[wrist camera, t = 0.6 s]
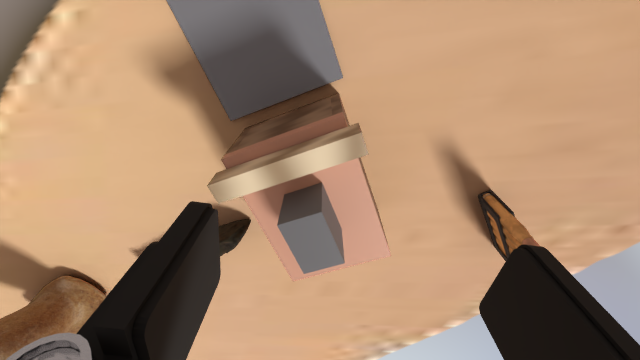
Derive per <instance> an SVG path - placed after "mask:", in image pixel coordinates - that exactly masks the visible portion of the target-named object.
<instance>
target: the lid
mask: <svg viewBox="0 0 640 360" xmlns="http://www.w3.org/2000/svg"><path fill="white" fill-rule="evenodd" d="M345 127H348V126H347V123H346V120H345V117H344V114H343V112H341V113H338V114H335V115H332V116H330V117H327V118H324V119H321V120H319V121H316V122H313V123H310V124H308V125H305V126H302V127H299V128H297V129H294V130H291V131H288V132H286V133H283V134H280V135H277V136H275V137H272V138H269V139H266V140H264V141H261V142H258V143H255V144H253V145H250V146H247V147H244V148H242V149H239V150H236V151H233V152H230V153H228V154H225V155H224V157H223V158H222V159H221V160H222V162H223V164H224V165H225V167H226V169H229V168H232V167H234V166H237V165H240V164H243V163H246V162H249V161H252V160H254V159H257V158H260V157H263V156H266V155H269V154H271V153H274V152H277V151H280V150H283V149H286V148H288V147H291V146H294V145H297V144H300V143H303V142H305V141H308V140H311V139H314V138H317V137H320V136H323V135H325V134H328V133H331V132H334V131H337V130H340V129H342V128H345ZM243 198H244V199H245V201H246V203H247V204H248V206H249V208H250V210H251V211H252V213H253V215H254V216H255V218H256V220H257V221H258V223H259V225H260V227H261V228H262V230H263V232H264V233H265V235H266V237H267V238H268V240H269V242H270V244H271V245H272V247H273V249H274V250H275V252H276V254H277V256H278V257H279V259H280V261H281V262H282V264H283V266H284V267H285V269H286V271H287V273H288V274H289V276H290V278H291V279H292V281H297V280H301V279H304V278H308V277H312V276H316V275H320V274H324V273H327V272H331V271H335V270H339V269H343V268H347V267H351V266H354V265H358V264H362V263H366V262H370V261H374V260H377V259H381V258H385V257H389V256H391V253H390V250H389V247H388V244H387V241H386V238H385V235H384V232H383V229H382V226H381V223H380V220H379V217H378V214H377V211H376V208H375V205H374V203H373V200H372V197H371V194H370V191H369V188H368V185H367V182H366V179H365V176H364V173H363V170H362V167H361V164H360V161H359V158H357V159H354V160H351V161H348V162H345V163H341V164H338V165H335V166H332V167H329V168H326V169H323V170H320V171H317V172H314V173H311V174H308V175H305V176H302V177H299V178H296V179H293V180H290V181H287V182H284V183H281V184H278V185H275V186H272V187H269V188H266V189H263V190H259V191H256V192H253V193H250V194H247V195H244V196H243Z"/></svg>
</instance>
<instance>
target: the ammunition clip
mask: <svg viewBox="0 0 640 360" xmlns="http://www.w3.org/2000/svg"><path fill="white" fill-rule="evenodd" d="M478 198H479V201H480V204H481V207H482V210H483V213H484V216H485V219H486V222H487V225H488V228H489V231H490V234H491V237H492V240H493V243H494V246H495V248H496V250H497V251H498V252H499V253H500V255H501V256H502V257H503V258H504V260H505V261H507V259H508V257H509V256H510V254H511V253H512V251H513V250H514V249H516V248H518V247H519V246H520V245H523V244H526V245H534V246H539V244H538V243H537V242H536V241H535V240H534V239H533V237H532V236H531V235H530V234H529V232H528V231H527V229H526V228H525V227H524V226H523V225H522V224H521V223H520V222H519V221H518V220H517V219H516V218H515V216H514V212H513V211H512V210H511V209H510V208H509V207H508V206H507V205H506V204H505V203H504V202H503V201H502V200H501V199H500V198H499V197H498V196H497V195H496V194H495V193H494V192H493V191H492V190H490V191H487V192H485V193H482V194H480V195H478Z"/></svg>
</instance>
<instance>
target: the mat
mask: <svg viewBox="0 0 640 360" xmlns="http://www.w3.org/2000/svg"><path fill="white" fill-rule="evenodd" d="M167 2H168V4H169V6H170V8H171V10H172V12H173V13H174V15H175V17H176V19H177V21H178V23H179V25H180V27H181V28H182V30H183V32H184V34H185V36H186V38H187V40H188V42H189V43H190V45H191V47H192V49H193V51H194V53H195V55H196V57H197V59H198V60H199V62H200V64H201V66H202V68H203V70H204V72H205V74H206V75H207V77H208V79H209V81H210V83H211V85H212V87H213V89H214V90H215V92H216V94H217V96H218V98H219V100H220V102H221V104H222V105H223V107H224V109H225V111H226V113H227V115H228V117H229V119H230V120H231V121H232V120H235V119H238V118H240V117H243V116H245V115H248V114H251V113H253V112H256V111H258V110H261V109H264V108H266V107H269V106H271V105H274V104H276V103H279V102H282V101H284V100H287V99H289V98H292V97H295V96H297V95H300V94H302V93H305V92H308V91H310V90H313V89H315V88H318V87H321V86H323V85H326V84H328V83H331V82H334V81H336V80H339V79H341V78H343V75H342V72H341V69H340V66H339V63H338V60H337V57H336V54H335V50H334V47H333V44H332V41H331V38H330V35H329V32H328V28H327V25H326V22H325V19H324V16H323V13H322V10H321V7H320V3H319V0H167Z"/></svg>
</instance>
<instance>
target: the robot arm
mask: <svg viewBox="0 0 640 360" xmlns="http://www.w3.org/2000/svg"><path fill="white" fill-rule="evenodd" d="M220 272H221V271H220V248H219V225H218V211H217V210H216V209H212V205H211V204H209V203H201V202H193V201H192V202H190V203H189V204H188V205H187V206H186V207H185V209H184V210H183V211H182V213H181V214H180V215H179V216H178V218H177V219H176V220H175V222H174V223H173V224H172V225H171V227H170V228H169V229H168V230H167V232H166V233H165V234H164V236H163V237H162V238H161V239H160V241H159V242H153V243H151V244H150V245H149V246H148V247H147V248H146V249H145V250H144V251H143V253H142V254H141V255H140V256H139V257H138V259H137V260H136V261H135V262H134V264H133V265H132V266H131V267H130V269H129V270H128V271H127V272H126V273H125V275H124V276H123V277H122V278H121V280H120V281H119V282H118V283H117V284H116V286H115V287H114V288H113V289H112V291H111V292H110V293H109V294H108V296H107V297H106V298H105V299H104V300H103V302H102V303H101V304H100V305H99V307H98V308H97V309H96V310H95V311H94V313H93V314H92V315H91V316H90V318H89V319H88V320H87V321H86V323H85V324H84V325H83V326H82V327H81V329H80V330H79V331H78V332H77V334H74V333H59V334H53V335H50V336H47V337H43V338H40V339H38V340H36V341H34V342H32V343H30V344H28V345H26V346H24V347H23V348H21V349H20V350H18V351H17V352H15V353H14V354H12V355H11V356H10V357H8V358H7V359H6V360H186V358H187V356H188V353H189V351H190V349H191V346H192V344H193V342H194V339H195V337H196V335H197V332H198V330H199V328H200V325H201V323H202V321H203V318H204V316H205V314H206V311H207V309H208V307H209V304H210V302H211V299H212V297H213V295H214V292H215V290H216V288H217V285H218V283H219V279H220ZM479 310H480V314H481V316H482V318H483V320H484V322H485V324H486V326H487V328H488V330H489V332H490V334H491V336H492V338H493V339H494V341H495V343H496V345H497V347H498V349H499V351H500V353H501V355H502V357H503V359H504V360H640V345H639V344H638V343H637V342H636V341H635V340H634V339H633V338H632V337H631V336H630V335H629V334H628V333H627V332H626V330H624V328H623V327H622V326H621V325H620V324H619V323H618V322H617V321H616V320H615V319H614V318H613V317H612V316H611V315H610V314H609V313H608V312H607V311H606V310H605V309H604V308H603V307H602V306H601V305H600V304H599V303H598V302H597V301H596V299H595V298H594V297H592V295H591V294H590V293H589V292H588V291H587V290H586V289H585V288H584V287H583V286H582V285H581V284H580V283H579V282H578V281H577V280H576V279H575V278H574V277H573V276H572V275H571V274H570V273H569V272H568V271H567V269H566V268H565V267H564V266H563V265H562V264H561V263H560V262H559V261H558V260H557V259H556V258H555V257H554V256H553V255H552V254H551V253H550V252H549V251H548V250H547V249H546V248H544V247H541V246H534V245H526V244H523V245H520V246H519V247H518V248H516V249H514V250H513V251H512V253H511V254H510V256H509V257H508V259H507V261H506V262H505V264H504V266H503V267H502V269H501V270H500V272H499V274H498V275H497V277H496V278H495V280H494V282H493V283H492V285H491V287H490V288H489V290H488V291H487V293H486V295H485V296H484V298H483V299H482V301H481V303H480V306H479Z"/></svg>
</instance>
